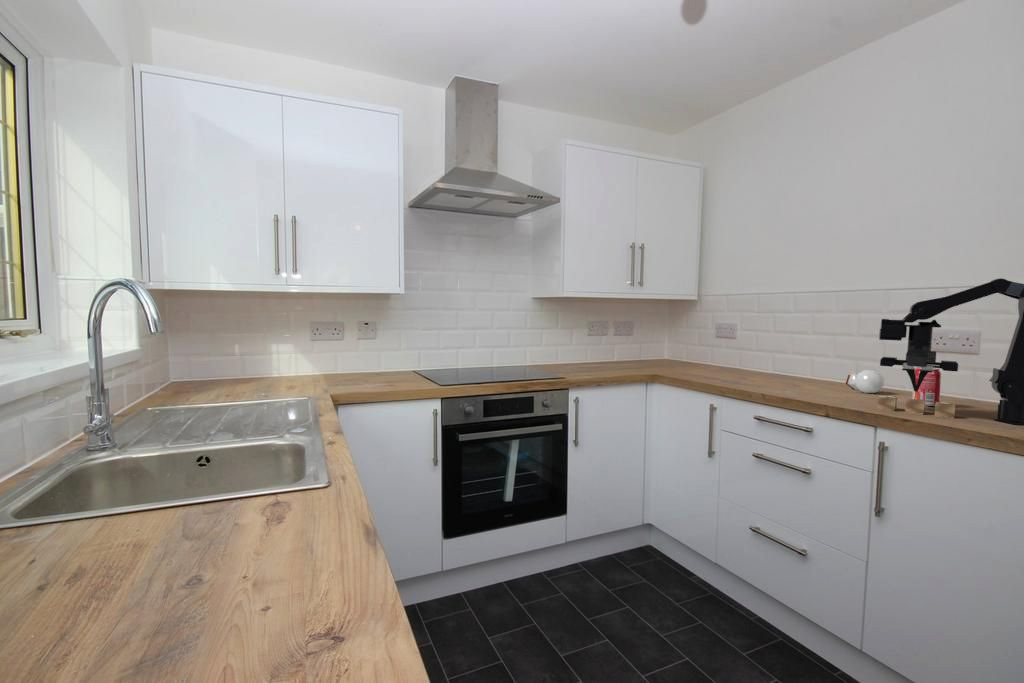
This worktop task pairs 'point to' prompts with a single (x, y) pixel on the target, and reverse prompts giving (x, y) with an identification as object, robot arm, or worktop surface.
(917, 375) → the soda can
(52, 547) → the worktop surface
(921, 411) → the plain block
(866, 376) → the potion bottle
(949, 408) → the pip block near
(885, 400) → the pip block far
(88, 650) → the worktop surface
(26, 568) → the worktop surface
